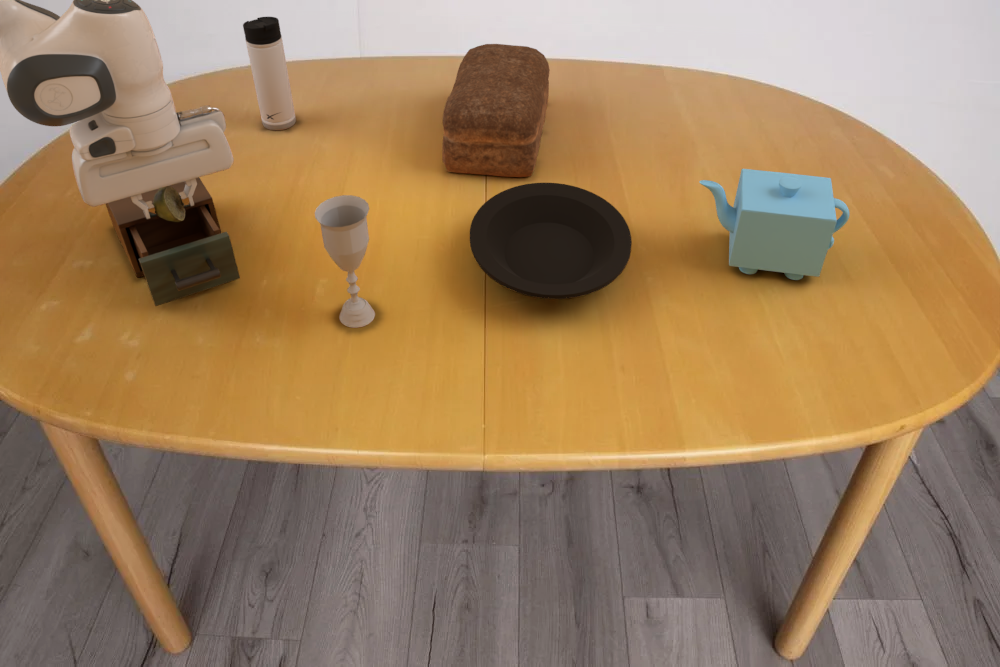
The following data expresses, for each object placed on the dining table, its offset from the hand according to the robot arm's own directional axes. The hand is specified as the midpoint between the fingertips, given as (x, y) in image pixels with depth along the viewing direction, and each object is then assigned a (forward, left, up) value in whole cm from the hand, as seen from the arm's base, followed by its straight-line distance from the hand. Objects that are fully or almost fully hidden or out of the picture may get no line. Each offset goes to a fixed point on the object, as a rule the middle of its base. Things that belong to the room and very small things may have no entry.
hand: (169, 210), depth 122 cm
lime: (0, 0, -2) cm, 2 cm away
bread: (+61, +12, -12) cm, 63 cm away
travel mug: (+28, +37, -12) cm, 48 cm away
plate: (+48, -25, -12) cm, 55 cm away
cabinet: (0, +11, -12) cm, 17 cm away
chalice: (+18, -21, -12) cm, 30 cm away
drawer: (0, 0, -11) cm, 11 cm away
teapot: (+77, -40, -12) cm, 87 cm away
